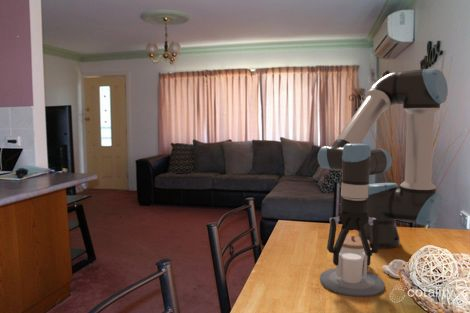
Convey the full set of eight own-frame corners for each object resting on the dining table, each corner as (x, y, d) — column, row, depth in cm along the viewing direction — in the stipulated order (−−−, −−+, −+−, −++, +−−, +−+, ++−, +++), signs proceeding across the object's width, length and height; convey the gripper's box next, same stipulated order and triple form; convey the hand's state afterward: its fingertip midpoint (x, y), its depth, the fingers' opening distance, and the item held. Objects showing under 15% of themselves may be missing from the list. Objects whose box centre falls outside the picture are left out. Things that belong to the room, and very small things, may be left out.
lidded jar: (364, 271, 124) (365, 242, 123) (330, 264, 130) (331, 236, 129) (372, 261, 133) (373, 234, 132) (340, 255, 139) (341, 229, 138)
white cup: (364, 285, 111) (365, 261, 111) (339, 282, 113) (340, 259, 112) (361, 275, 118) (362, 252, 117) (337, 273, 119) (338, 251, 119)
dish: (371, 271, 125) (371, 267, 124) (394, 296, 107) (395, 293, 107) (314, 270, 124) (314, 267, 124) (328, 296, 106) (328, 292, 106)
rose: (417, 258, 125) (418, 268, 116) (416, 271, 125) (417, 283, 116) (383, 253, 129) (382, 263, 120) (383, 266, 129) (381, 277, 120)
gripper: (383, 195, 117) (379, 271, 119) (317, 194, 117) (314, 270, 119) (394, 200, 109) (389, 281, 112) (323, 200, 109) (320, 280, 111)
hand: (350, 275), depth 115 cm, fingers closed on white cup, 7 cm apart
